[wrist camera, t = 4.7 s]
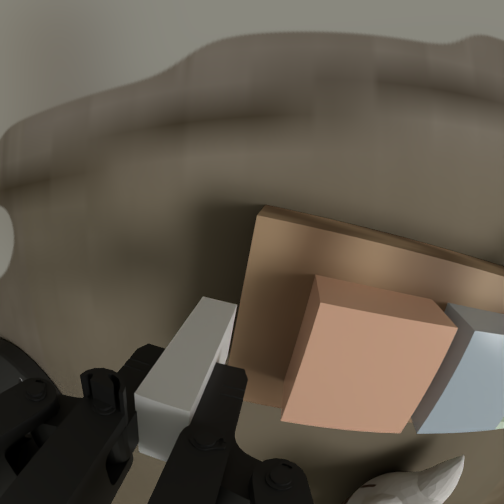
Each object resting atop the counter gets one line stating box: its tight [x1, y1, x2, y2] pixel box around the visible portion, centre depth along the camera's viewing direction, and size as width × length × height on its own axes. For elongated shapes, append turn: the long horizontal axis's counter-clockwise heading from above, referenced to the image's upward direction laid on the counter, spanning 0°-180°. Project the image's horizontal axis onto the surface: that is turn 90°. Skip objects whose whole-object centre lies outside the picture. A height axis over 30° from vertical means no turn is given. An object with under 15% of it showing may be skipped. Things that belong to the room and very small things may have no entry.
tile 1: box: [411, 303, 504, 434], centre depth 12 cm, size 6×6×3 cm
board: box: [228, 205, 504, 423], centre depth 16 cm, size 18×10×4 cm, turn 79°
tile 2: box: [281, 275, 458, 433], centre depth 13 cm, size 6×6×3 cm
